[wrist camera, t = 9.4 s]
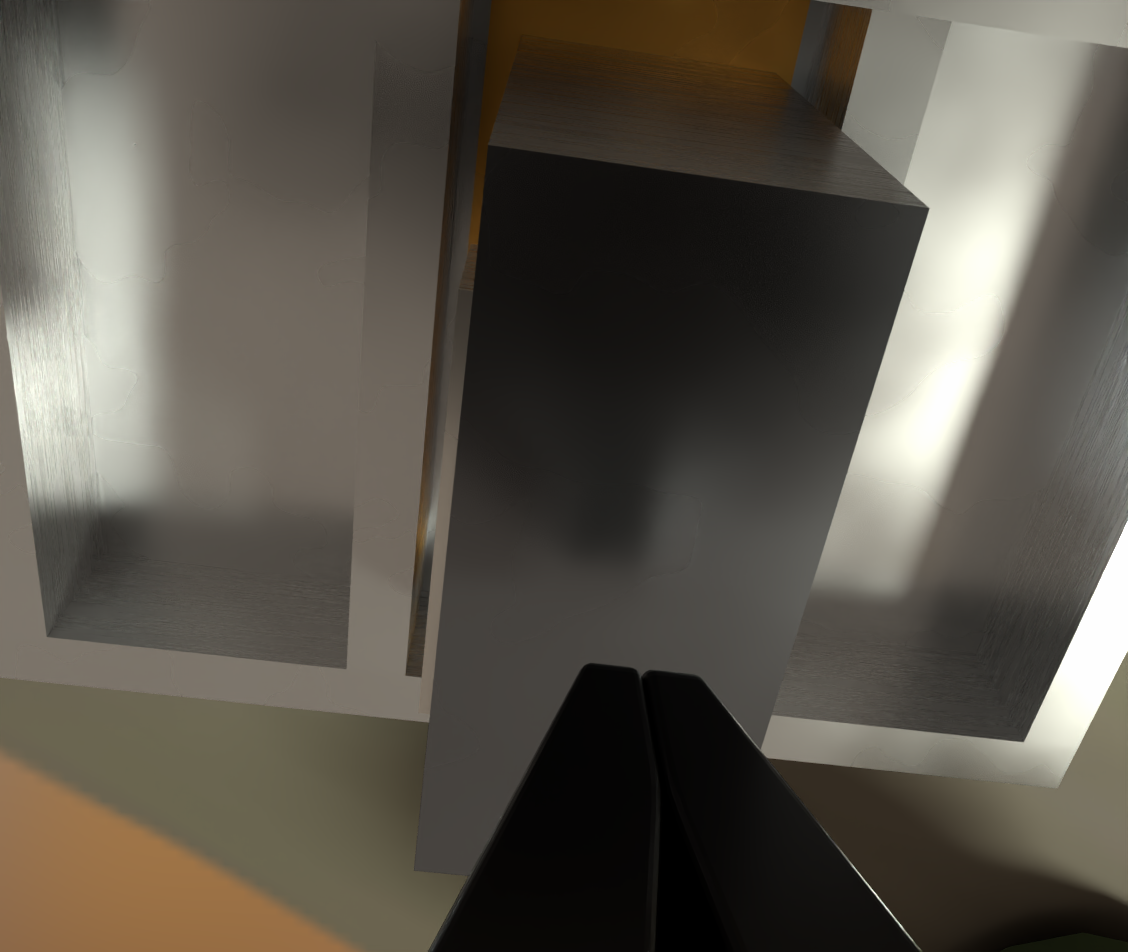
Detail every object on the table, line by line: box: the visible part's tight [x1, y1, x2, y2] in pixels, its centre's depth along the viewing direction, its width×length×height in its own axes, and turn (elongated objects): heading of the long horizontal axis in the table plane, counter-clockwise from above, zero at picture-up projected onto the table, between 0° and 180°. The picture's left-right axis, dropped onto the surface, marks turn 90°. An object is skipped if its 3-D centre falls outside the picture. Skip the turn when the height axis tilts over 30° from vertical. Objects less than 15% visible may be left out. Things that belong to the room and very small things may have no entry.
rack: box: [0, 0, 1128, 788], centre depth 13 cm, size 15×11×3 cm
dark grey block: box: [414, 34, 930, 876], centre depth 11 cm, size 3×7×6 cm, turn 172°
